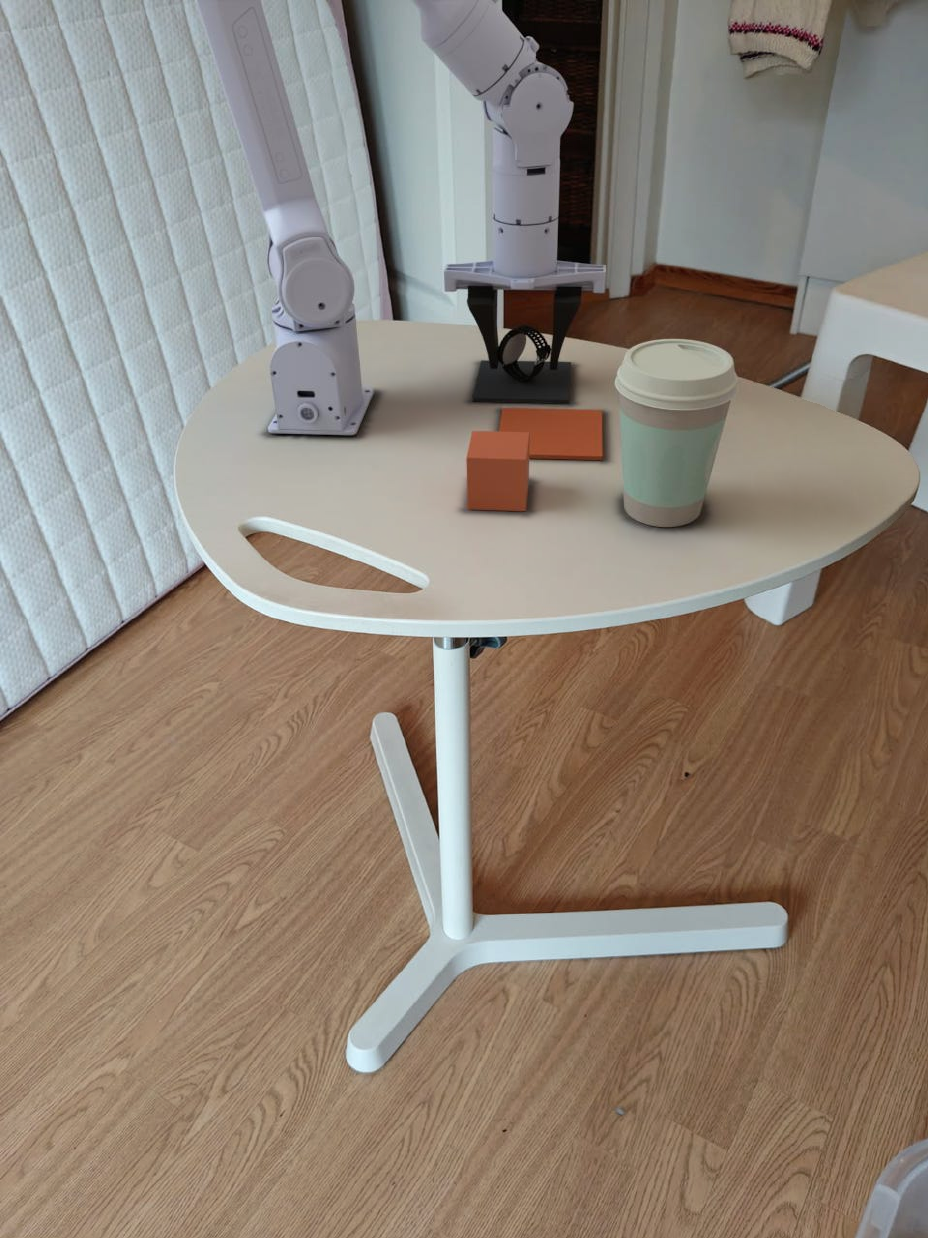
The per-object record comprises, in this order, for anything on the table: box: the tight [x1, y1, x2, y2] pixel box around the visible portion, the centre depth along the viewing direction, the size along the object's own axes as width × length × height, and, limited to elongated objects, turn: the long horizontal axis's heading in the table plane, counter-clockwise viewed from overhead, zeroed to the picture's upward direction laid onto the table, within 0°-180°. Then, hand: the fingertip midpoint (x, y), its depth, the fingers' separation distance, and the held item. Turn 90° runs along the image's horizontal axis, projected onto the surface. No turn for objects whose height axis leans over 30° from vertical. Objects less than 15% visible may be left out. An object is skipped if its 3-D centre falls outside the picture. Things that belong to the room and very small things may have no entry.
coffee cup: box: [614, 338, 739, 528], centre depth 72 cm, size 8×8×12 cm
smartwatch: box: [497, 324, 551, 382], centre depth 93 cm, size 4×5×5 cm
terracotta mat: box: [498, 407, 604, 461], centre depth 86 cm, size 9×9×1 cm
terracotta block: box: [465, 430, 530, 512], centre depth 76 cm, size 4×4×4 cm
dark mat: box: [471, 359, 572, 405], centre depth 95 cm, size 9×9×1 cm
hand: (523, 365), depth 94 cm, fingers closed on smartwatch, 5 cm apart
